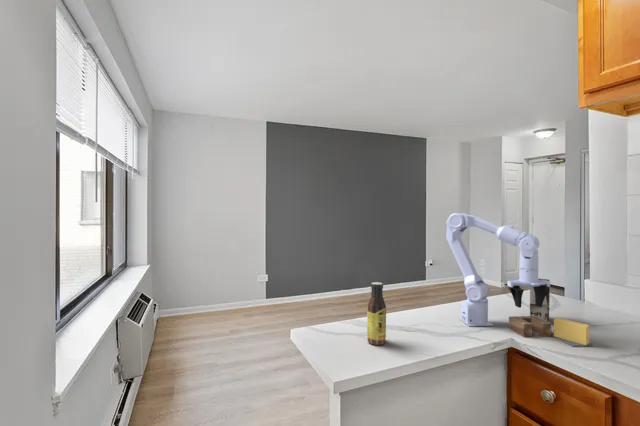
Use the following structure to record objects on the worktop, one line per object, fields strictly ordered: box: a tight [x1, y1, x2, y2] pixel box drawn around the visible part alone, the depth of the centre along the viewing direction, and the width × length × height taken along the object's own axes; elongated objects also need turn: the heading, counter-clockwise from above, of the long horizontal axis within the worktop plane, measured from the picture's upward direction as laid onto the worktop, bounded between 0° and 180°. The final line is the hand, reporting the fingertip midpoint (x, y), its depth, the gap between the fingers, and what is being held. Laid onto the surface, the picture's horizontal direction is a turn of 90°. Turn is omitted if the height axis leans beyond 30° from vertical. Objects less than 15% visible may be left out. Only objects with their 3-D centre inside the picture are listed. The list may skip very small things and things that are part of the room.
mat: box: [550, 331, 594, 348], centre depth 110 cm, size 7×11×1 cm, turn 3°
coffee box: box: [529, 278, 551, 322], centre depth 129 cm, size 9×6×16 cm
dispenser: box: [508, 315, 552, 338], centre depth 116 cm, size 10×8×5 cm
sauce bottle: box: [366, 281, 387, 346], centre depth 108 cm, size 6×6×20 cm
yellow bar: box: [553, 317, 590, 345], centre depth 109 cm, size 3×9×6 cm, turn 34°
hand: (528, 306), depth 115 cm, fingers open, 7 cm apart
